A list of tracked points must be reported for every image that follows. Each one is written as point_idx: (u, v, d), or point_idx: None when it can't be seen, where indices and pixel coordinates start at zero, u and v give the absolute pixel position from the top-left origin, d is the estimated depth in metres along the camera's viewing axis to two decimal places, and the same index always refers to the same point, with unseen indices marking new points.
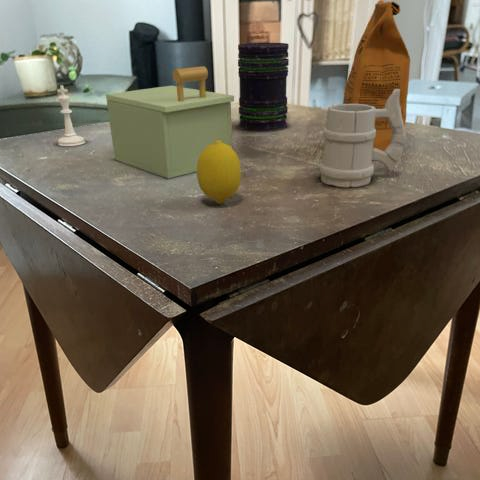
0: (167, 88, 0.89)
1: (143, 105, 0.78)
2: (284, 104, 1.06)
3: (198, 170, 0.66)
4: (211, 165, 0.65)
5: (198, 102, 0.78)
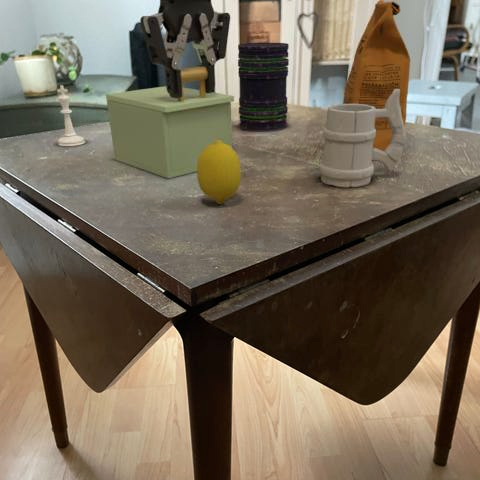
0: None
1: (143, 105, 0.78)
2: (284, 104, 1.06)
3: (198, 170, 0.66)
4: (211, 165, 0.65)
5: (198, 102, 0.78)
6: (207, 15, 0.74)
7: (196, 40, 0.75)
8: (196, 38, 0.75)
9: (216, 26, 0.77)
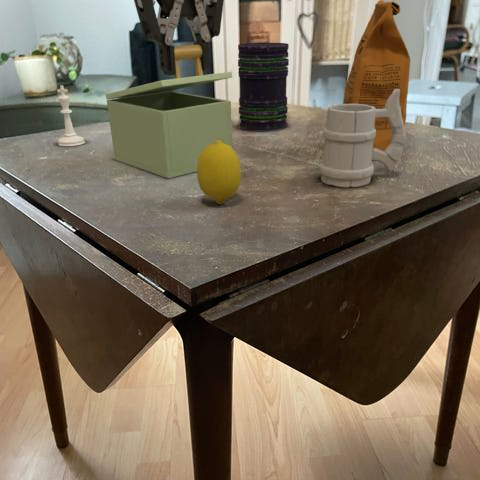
0: None
1: (140, 89, 0.77)
2: (284, 104, 1.06)
3: (198, 170, 0.66)
4: (211, 165, 0.65)
5: (195, 77, 0.76)
6: None
7: (190, 16, 0.74)
8: (190, 14, 0.74)
9: (210, 2, 0.76)
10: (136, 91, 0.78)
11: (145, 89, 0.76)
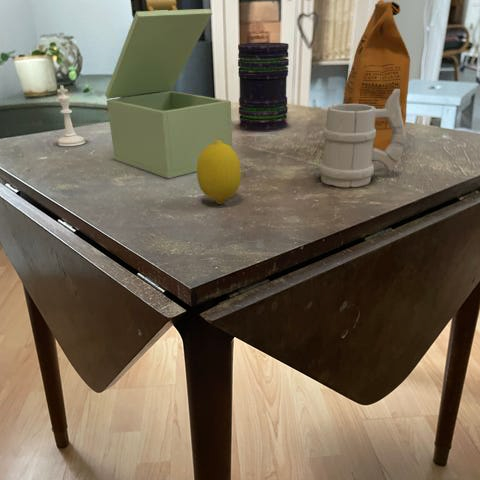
0: None
1: (125, 45, 0.76)
2: (284, 104, 1.06)
3: (198, 170, 0.66)
4: (211, 165, 0.65)
5: (172, 11, 0.75)
6: None
7: None
8: None
9: None
10: (123, 53, 0.77)
11: (128, 40, 0.75)
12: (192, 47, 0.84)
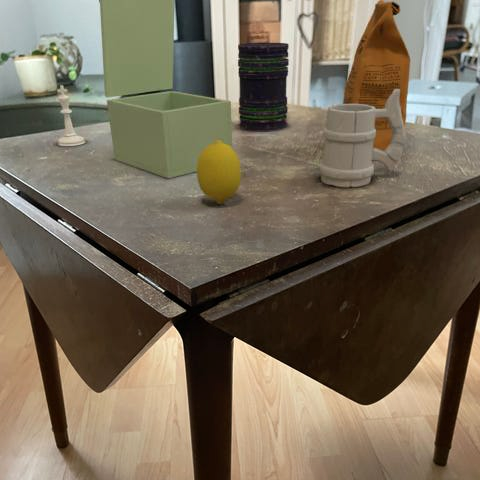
0: None
1: (101, 19, 0.78)
2: (284, 104, 1.06)
3: (198, 170, 0.66)
4: (211, 165, 0.65)
5: None
6: None
7: None
8: None
9: None
10: (103, 30, 0.79)
11: (102, 11, 0.77)
12: (171, 24, 0.86)
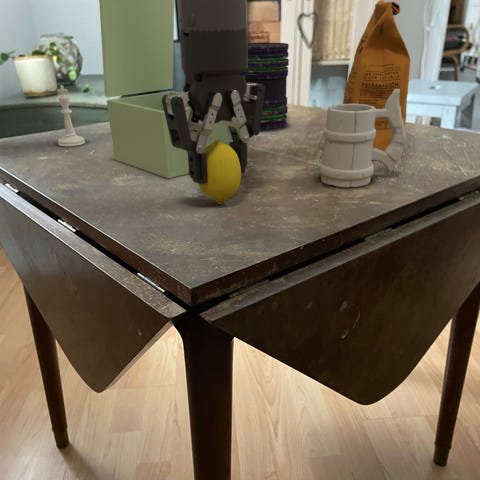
0: None
1: (101, 19, 0.78)
2: (284, 104, 1.06)
3: None
4: (211, 165, 0.65)
5: None
6: (239, 90, 0.64)
7: (226, 119, 0.64)
8: (226, 117, 0.64)
9: (249, 100, 0.66)
10: (102, 30, 0.79)
11: (101, 10, 0.77)
12: (171, 24, 0.86)
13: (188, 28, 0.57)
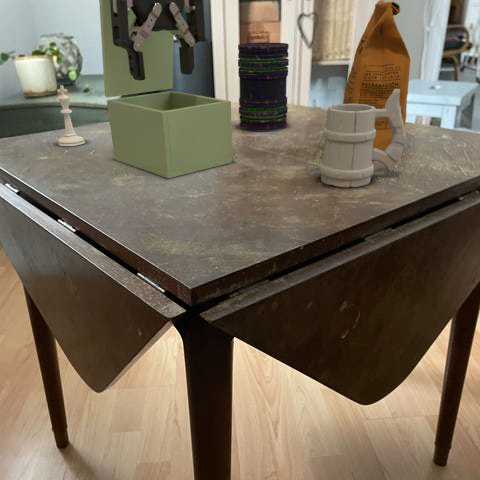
0: None
1: (101, 19, 0.78)
2: (284, 104, 1.06)
3: None
4: None
5: None
6: (177, 4, 0.77)
7: (167, 29, 0.77)
8: (167, 27, 0.77)
9: (189, 11, 0.79)
10: (102, 30, 0.79)
11: (101, 10, 0.77)
12: None
13: None
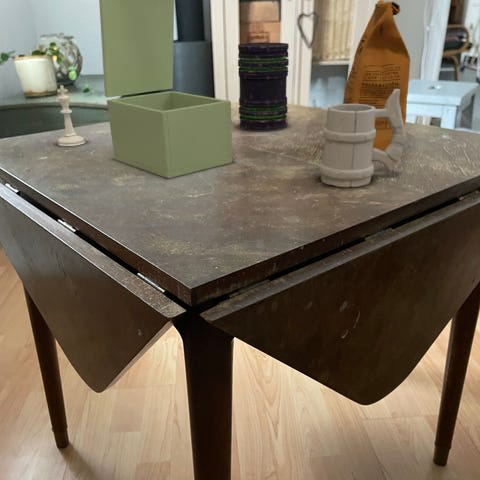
0: None
1: (101, 19, 0.78)
2: (284, 104, 1.06)
3: None
4: None
5: None
6: None
7: None
8: None
9: None
10: (102, 30, 0.79)
11: (101, 10, 0.77)
12: (171, 24, 0.86)
13: None
